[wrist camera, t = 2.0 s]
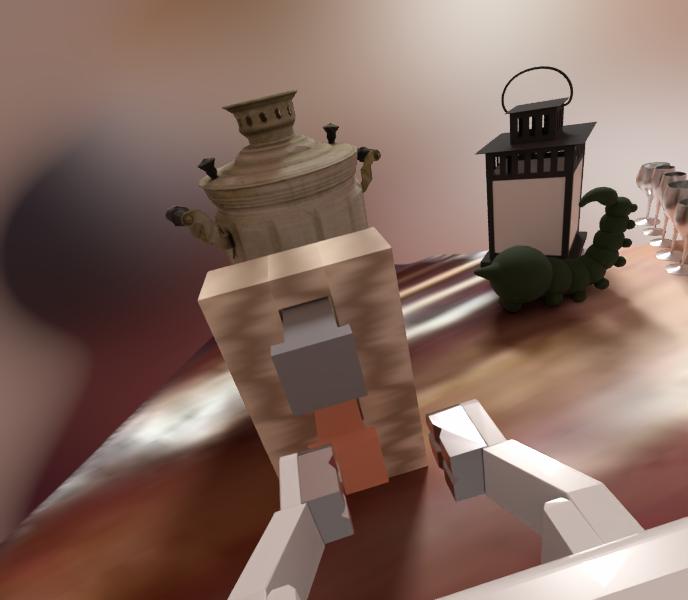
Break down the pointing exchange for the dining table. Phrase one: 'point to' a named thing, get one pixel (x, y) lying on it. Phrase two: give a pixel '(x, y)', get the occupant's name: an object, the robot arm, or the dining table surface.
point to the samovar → (279, 186)
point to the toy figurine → (563, 275)
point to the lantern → (536, 181)
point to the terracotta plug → (351, 445)
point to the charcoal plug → (317, 359)
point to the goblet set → (666, 210)
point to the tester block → (348, 308)
